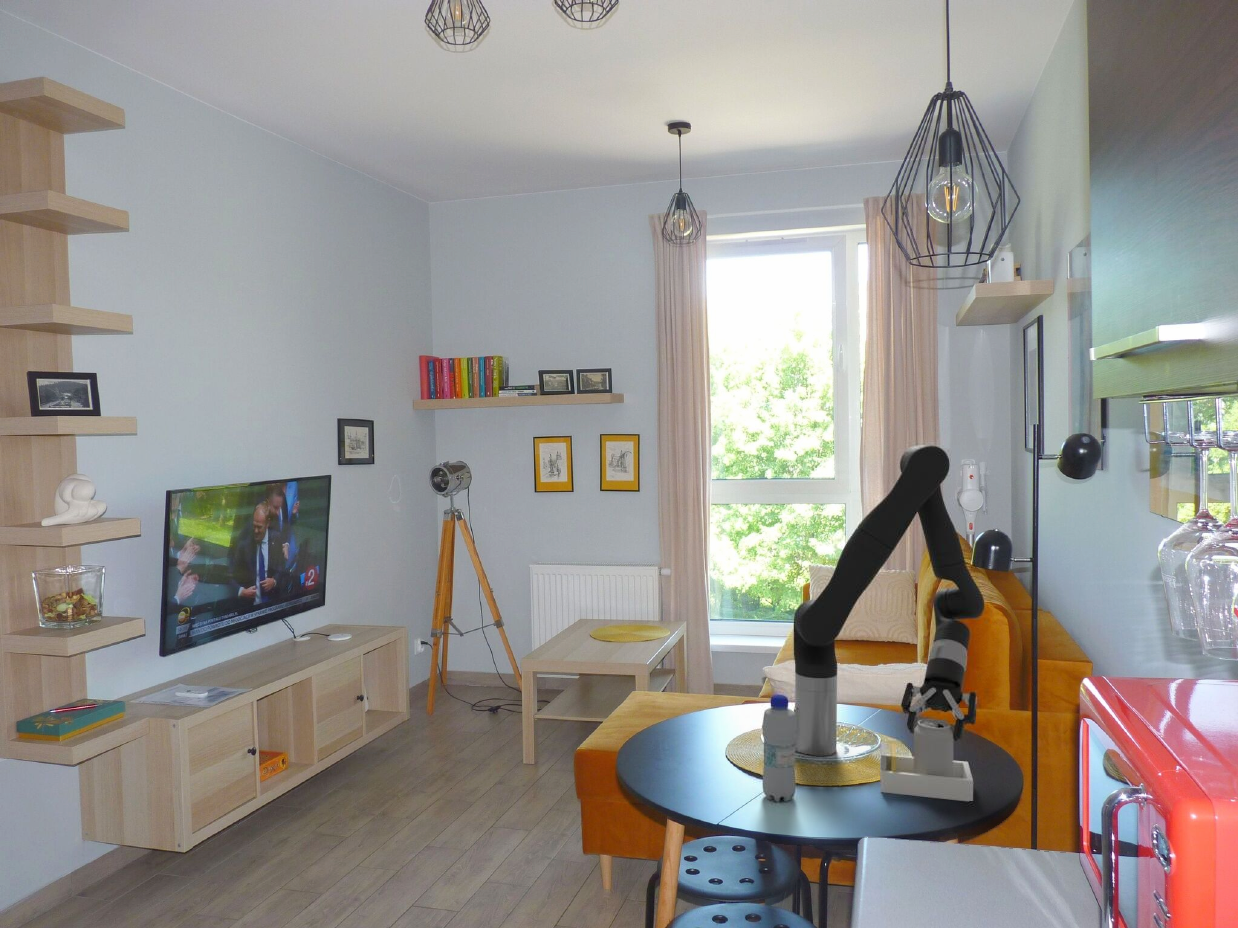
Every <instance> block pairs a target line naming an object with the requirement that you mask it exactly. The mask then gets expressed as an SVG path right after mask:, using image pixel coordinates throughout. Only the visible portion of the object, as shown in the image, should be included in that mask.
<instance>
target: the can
mask: <svg viewBox="0 0 1238 928" xmlns="http://www.w3.org/2000/svg"><path fill="white" fill-rule="evenodd" d="M953 735H954V731H953V730H952V729H951V724H950V723H949V722H947V721H945V720H941V719H935V718H922V719H919V720H917V724H916V727H915V728H914V734H913V757H914V774H924V775H934V776H944V777H953V760H954V744H955V743H954V742H955V741H954V737H953Z"/></svg>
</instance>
